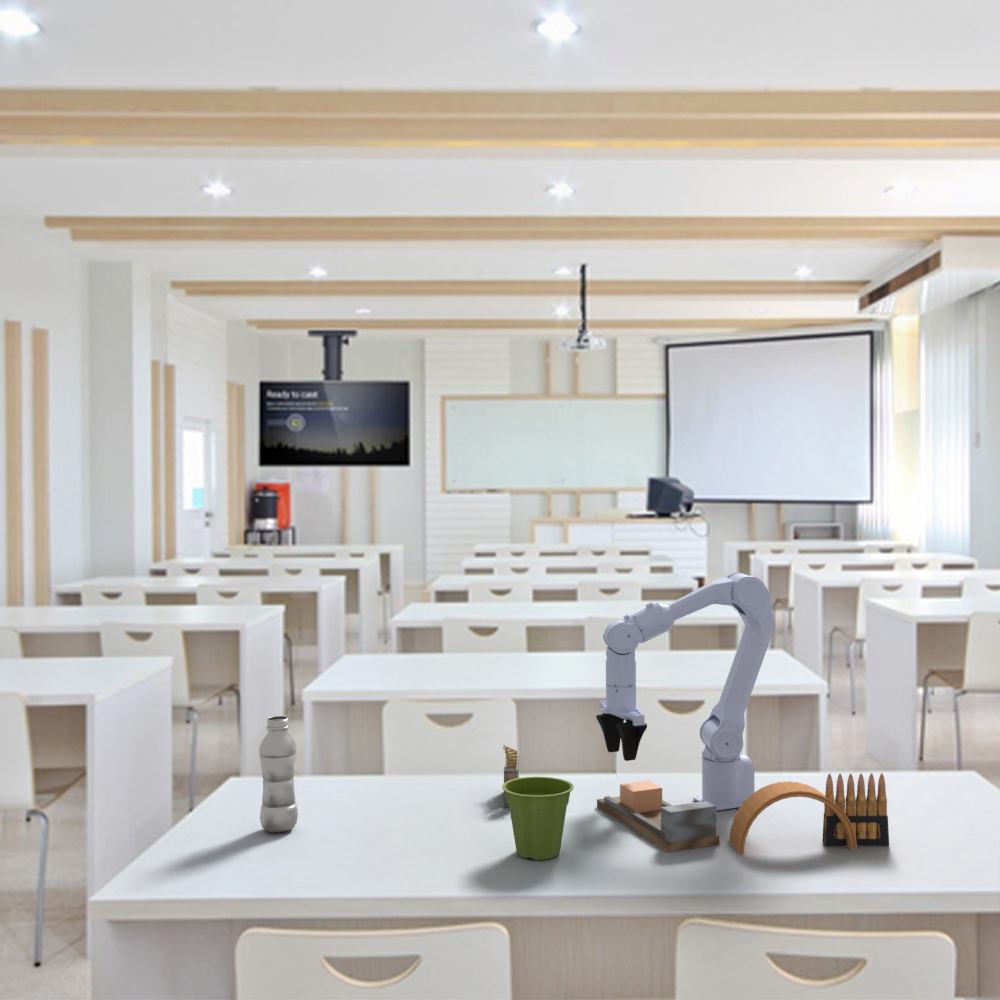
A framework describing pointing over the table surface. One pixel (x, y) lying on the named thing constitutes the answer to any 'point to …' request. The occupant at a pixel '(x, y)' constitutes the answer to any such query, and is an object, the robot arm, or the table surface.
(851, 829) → the arch
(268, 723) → the plastic bottle
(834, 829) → the ammunition clip
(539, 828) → the plant pot
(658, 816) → the keeper track
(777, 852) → the table surface
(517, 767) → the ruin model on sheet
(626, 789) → the block
